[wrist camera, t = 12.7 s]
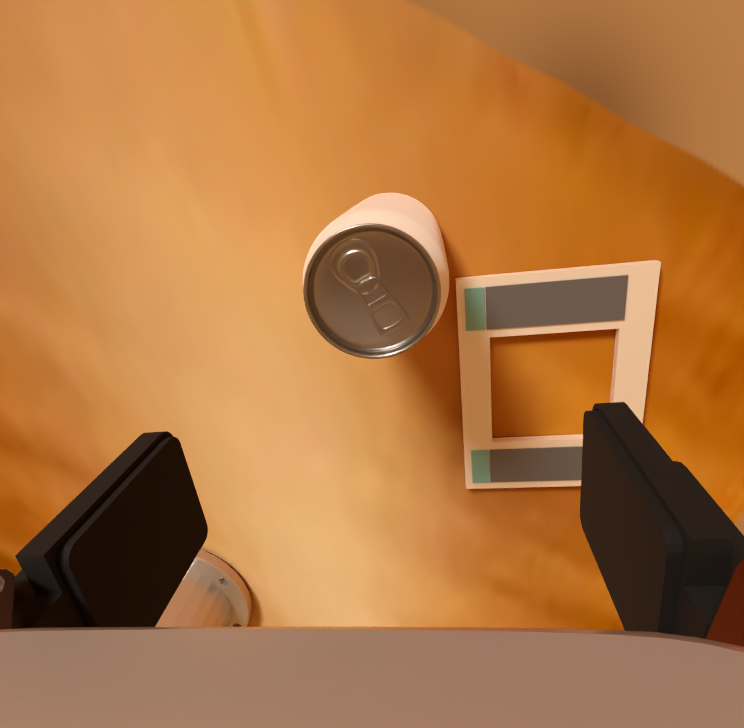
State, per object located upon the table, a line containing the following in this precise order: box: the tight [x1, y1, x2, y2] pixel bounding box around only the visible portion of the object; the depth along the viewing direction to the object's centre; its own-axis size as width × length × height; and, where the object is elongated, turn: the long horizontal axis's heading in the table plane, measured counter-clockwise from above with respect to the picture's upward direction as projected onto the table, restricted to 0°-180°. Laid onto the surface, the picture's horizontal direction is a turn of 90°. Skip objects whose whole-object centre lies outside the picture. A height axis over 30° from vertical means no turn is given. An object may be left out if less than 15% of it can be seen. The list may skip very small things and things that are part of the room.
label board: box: [455, 260, 661, 489], centre depth 33 cm, size 16×12×1 cm
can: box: [303, 193, 449, 359], centre depth 25 cm, size 6×6×12 cm
